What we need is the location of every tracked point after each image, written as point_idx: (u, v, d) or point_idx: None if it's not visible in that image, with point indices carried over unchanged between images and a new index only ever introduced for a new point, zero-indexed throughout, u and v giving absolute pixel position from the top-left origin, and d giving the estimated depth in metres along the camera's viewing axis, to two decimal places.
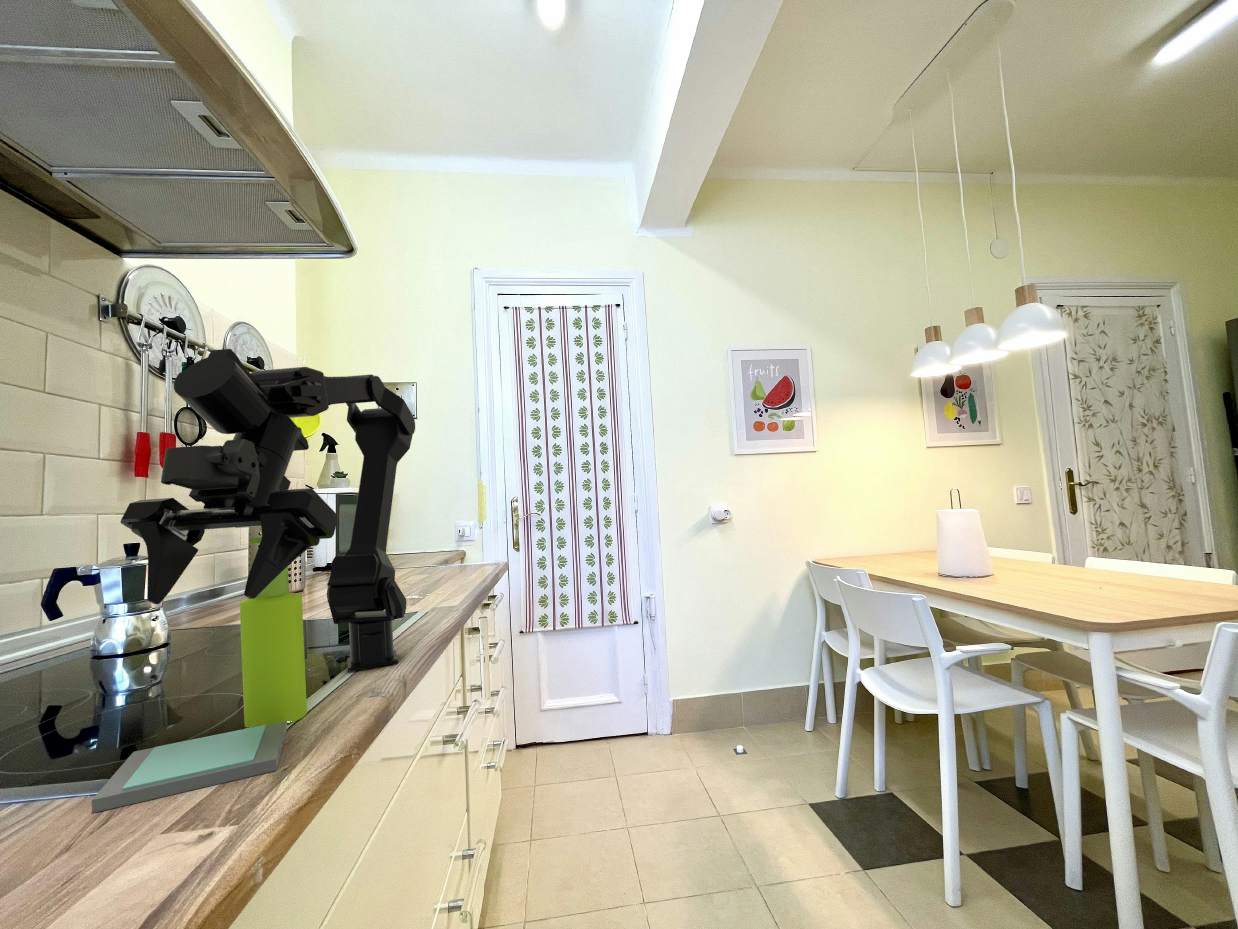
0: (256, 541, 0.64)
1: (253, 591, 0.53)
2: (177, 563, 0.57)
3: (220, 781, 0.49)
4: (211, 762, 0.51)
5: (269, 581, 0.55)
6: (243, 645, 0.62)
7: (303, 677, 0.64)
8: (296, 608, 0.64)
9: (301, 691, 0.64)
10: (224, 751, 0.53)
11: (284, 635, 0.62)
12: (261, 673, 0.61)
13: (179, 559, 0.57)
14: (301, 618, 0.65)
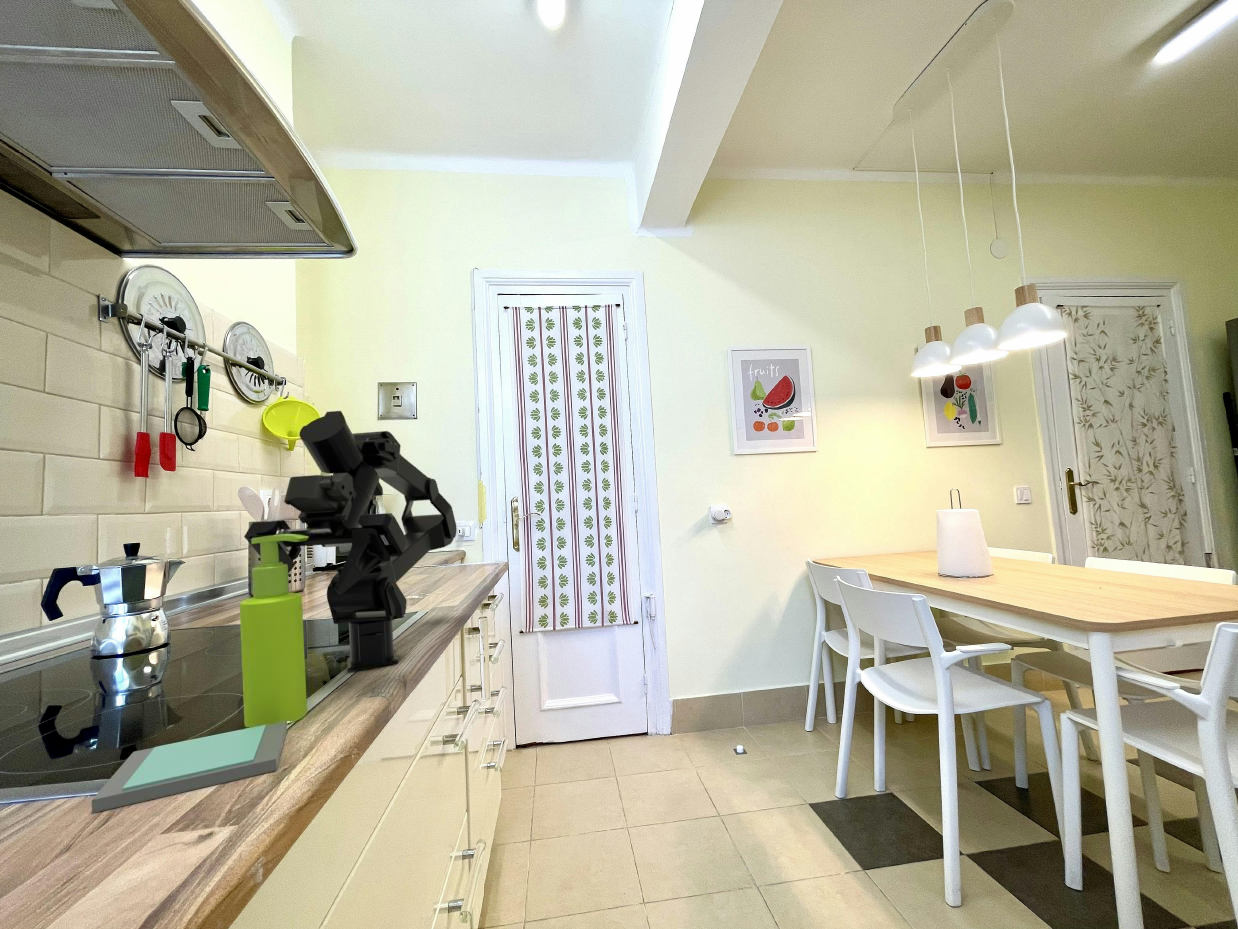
0: (256, 541, 0.64)
1: (342, 587, 0.68)
2: None
3: (220, 781, 0.49)
4: (211, 762, 0.51)
5: (353, 582, 0.70)
6: (243, 645, 0.62)
7: (303, 677, 0.64)
8: (296, 608, 0.64)
9: (301, 691, 0.64)
10: (224, 751, 0.53)
11: (284, 635, 0.62)
12: (261, 673, 0.61)
13: None
14: (301, 618, 0.65)
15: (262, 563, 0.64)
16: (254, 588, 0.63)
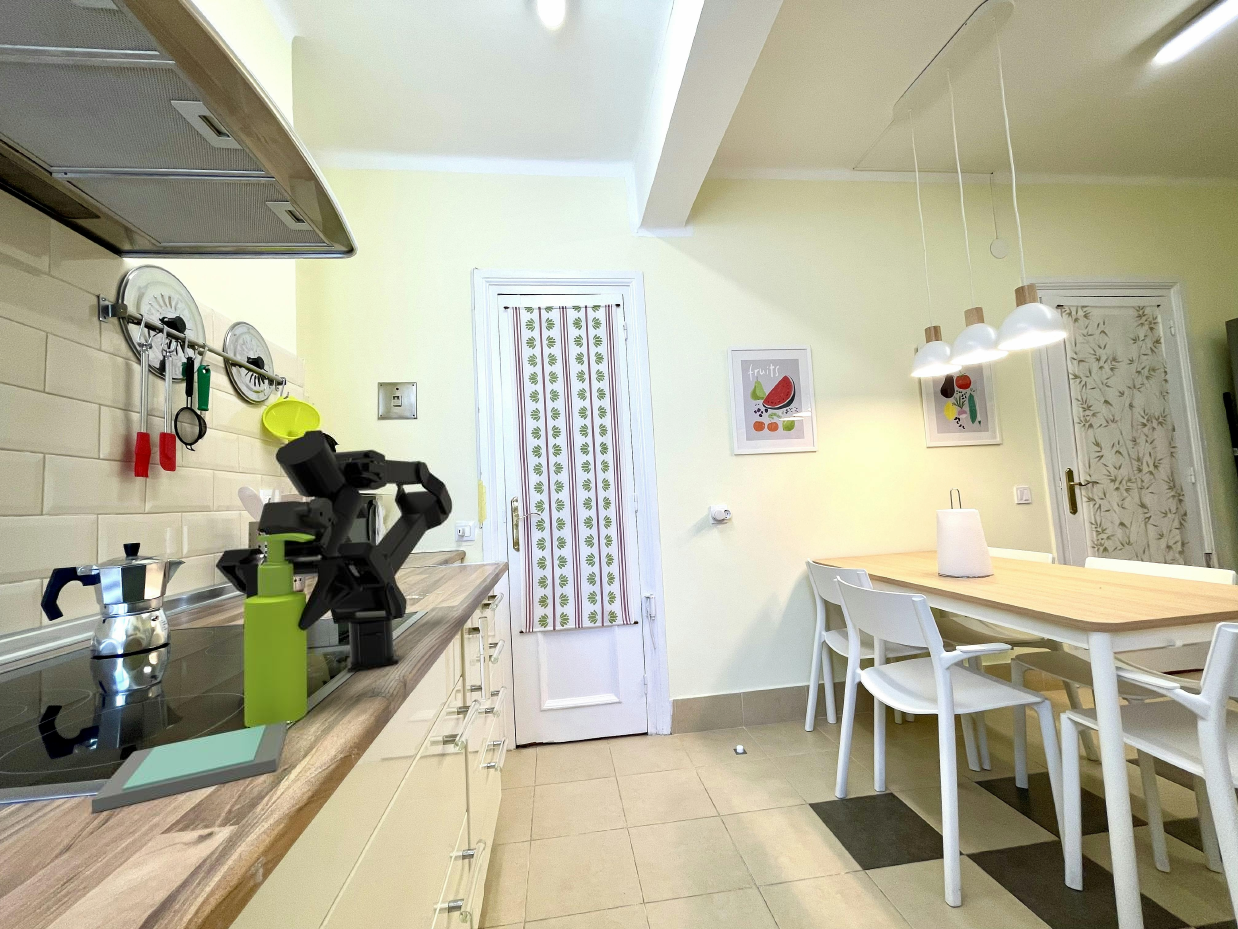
0: (263, 539, 0.63)
1: (305, 623, 0.64)
2: None
3: (220, 781, 0.49)
4: (211, 762, 0.51)
5: (318, 617, 0.65)
6: (246, 643, 0.62)
7: (304, 677, 0.64)
8: (300, 608, 0.64)
9: (302, 691, 0.64)
10: (224, 751, 0.53)
11: (287, 635, 0.62)
12: (263, 672, 0.61)
13: None
14: None
15: (268, 562, 0.63)
16: (259, 586, 0.63)
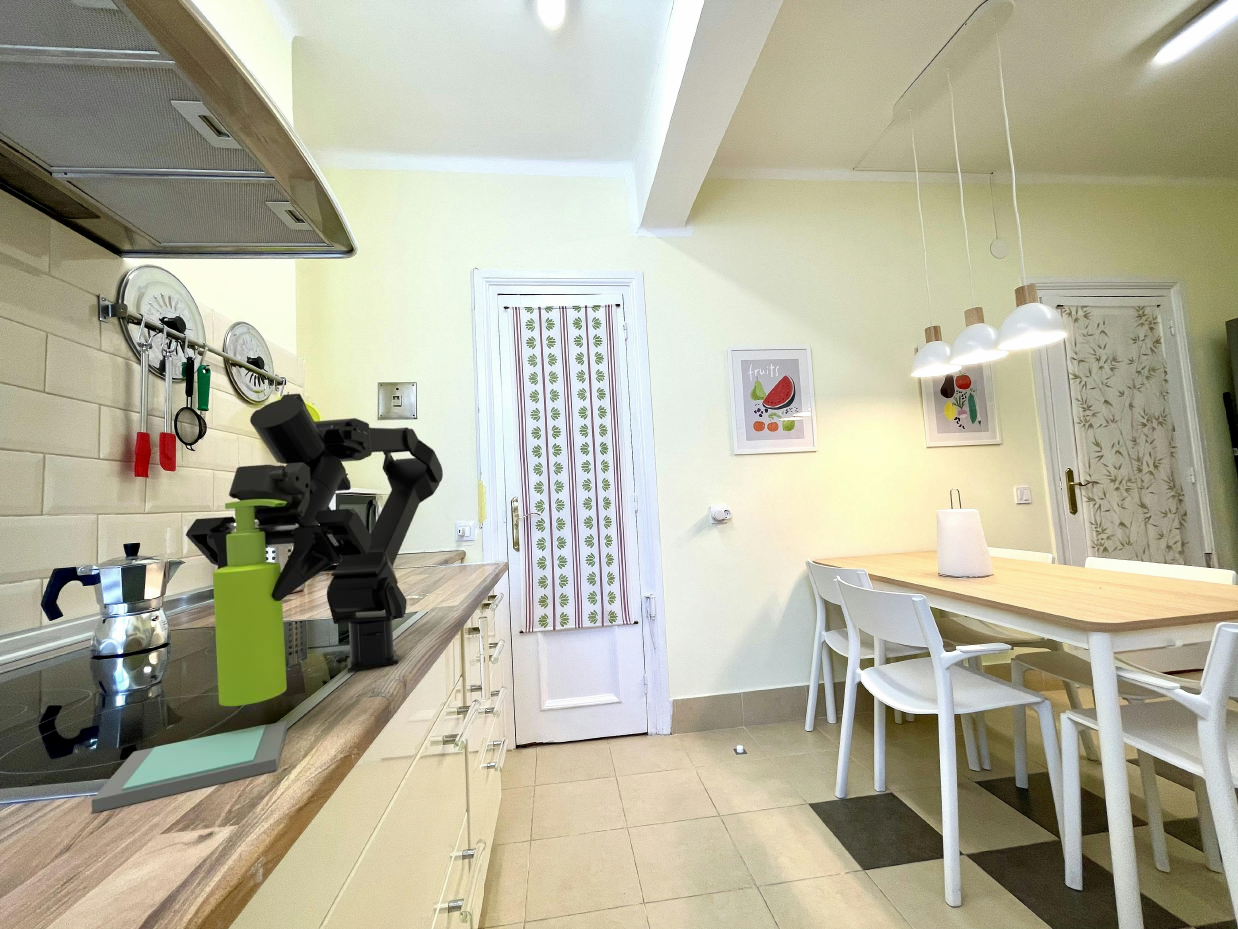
0: (230, 506, 0.59)
1: (279, 594, 0.60)
2: None
3: (220, 781, 0.49)
4: (211, 762, 0.51)
5: (294, 588, 0.61)
6: (216, 616, 0.58)
7: (282, 651, 0.60)
8: (273, 577, 0.60)
9: (279, 666, 0.60)
10: (224, 751, 0.53)
11: (261, 606, 0.58)
12: (236, 645, 0.57)
13: None
14: None
15: (237, 529, 0.60)
16: (228, 556, 0.59)
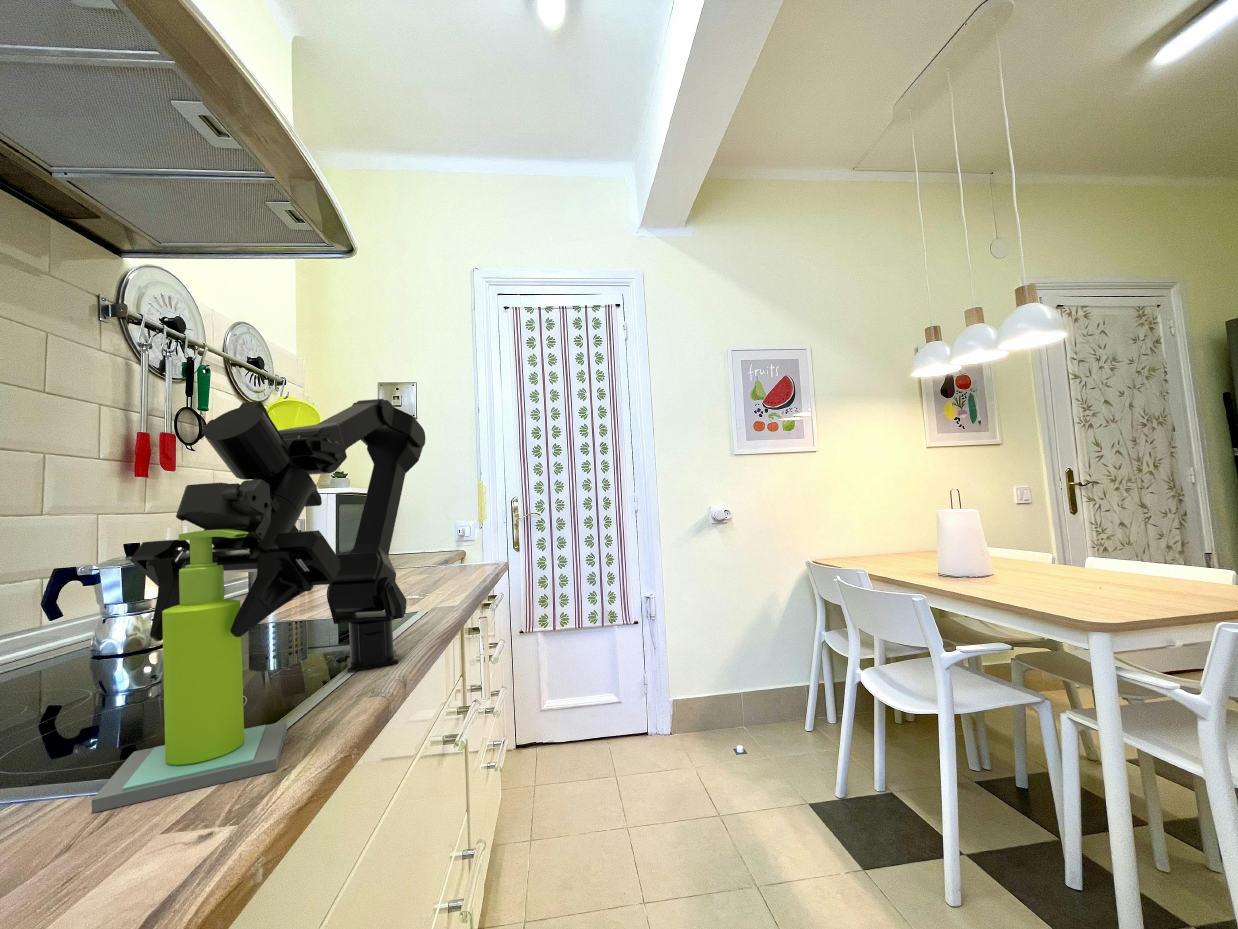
0: (184, 537, 0.53)
1: (240, 629, 0.53)
2: None
3: (220, 781, 0.49)
4: (211, 762, 0.51)
5: (257, 621, 0.55)
6: (164, 662, 0.51)
7: (239, 700, 0.54)
8: (230, 617, 0.53)
9: (235, 717, 0.53)
10: None
11: (214, 650, 0.52)
12: (184, 696, 0.51)
13: None
14: None
15: (191, 563, 0.53)
16: (180, 593, 0.53)
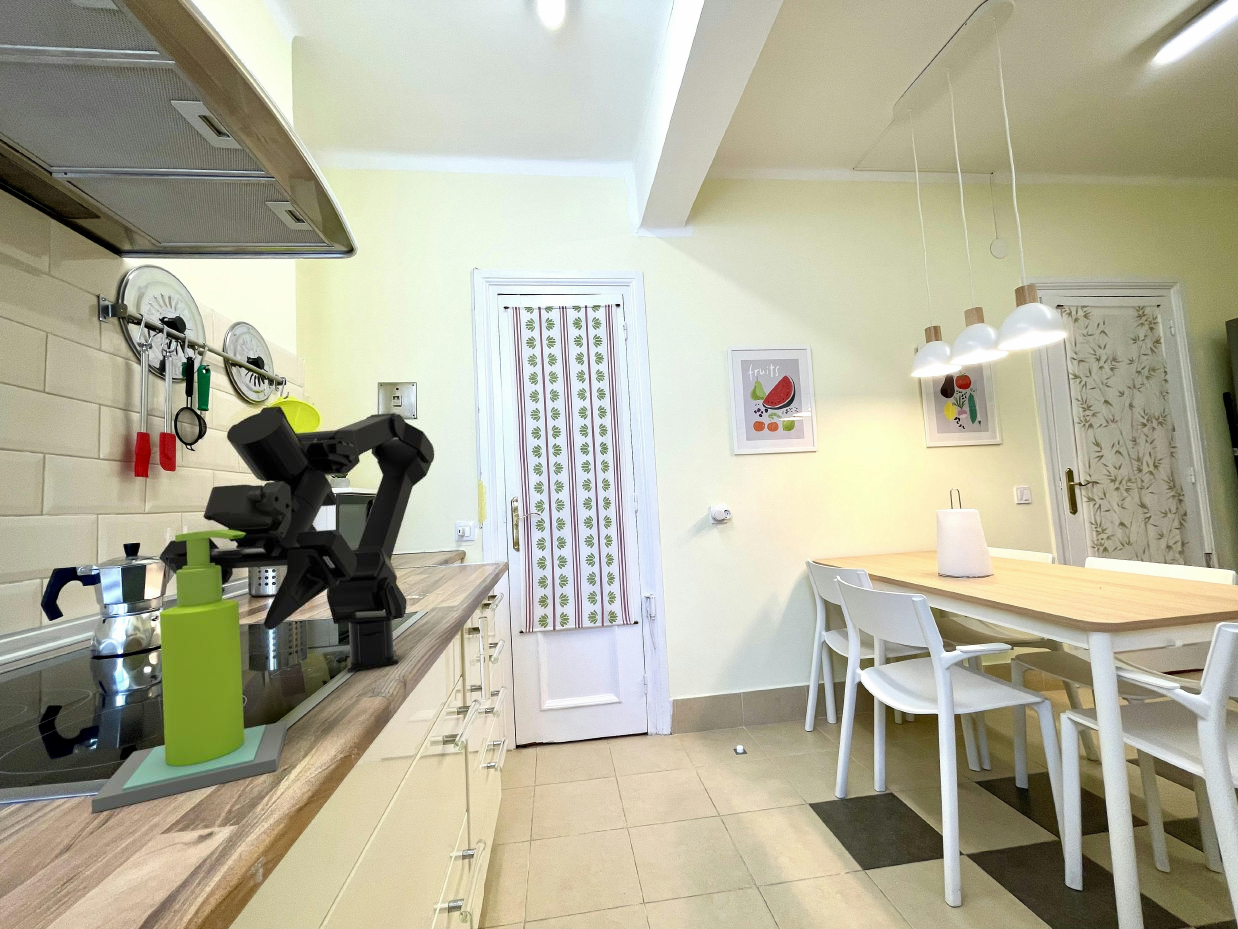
0: (181, 538, 0.53)
1: (272, 622, 0.56)
2: None
3: (220, 781, 0.49)
4: (211, 762, 0.51)
5: (288, 615, 0.58)
6: (163, 663, 0.51)
7: (238, 701, 0.54)
8: (229, 618, 0.53)
9: (235, 718, 0.53)
10: None
11: (213, 651, 0.52)
12: (183, 697, 0.51)
13: None
14: (236, 630, 0.54)
15: (188, 564, 0.53)
16: (178, 594, 0.52)
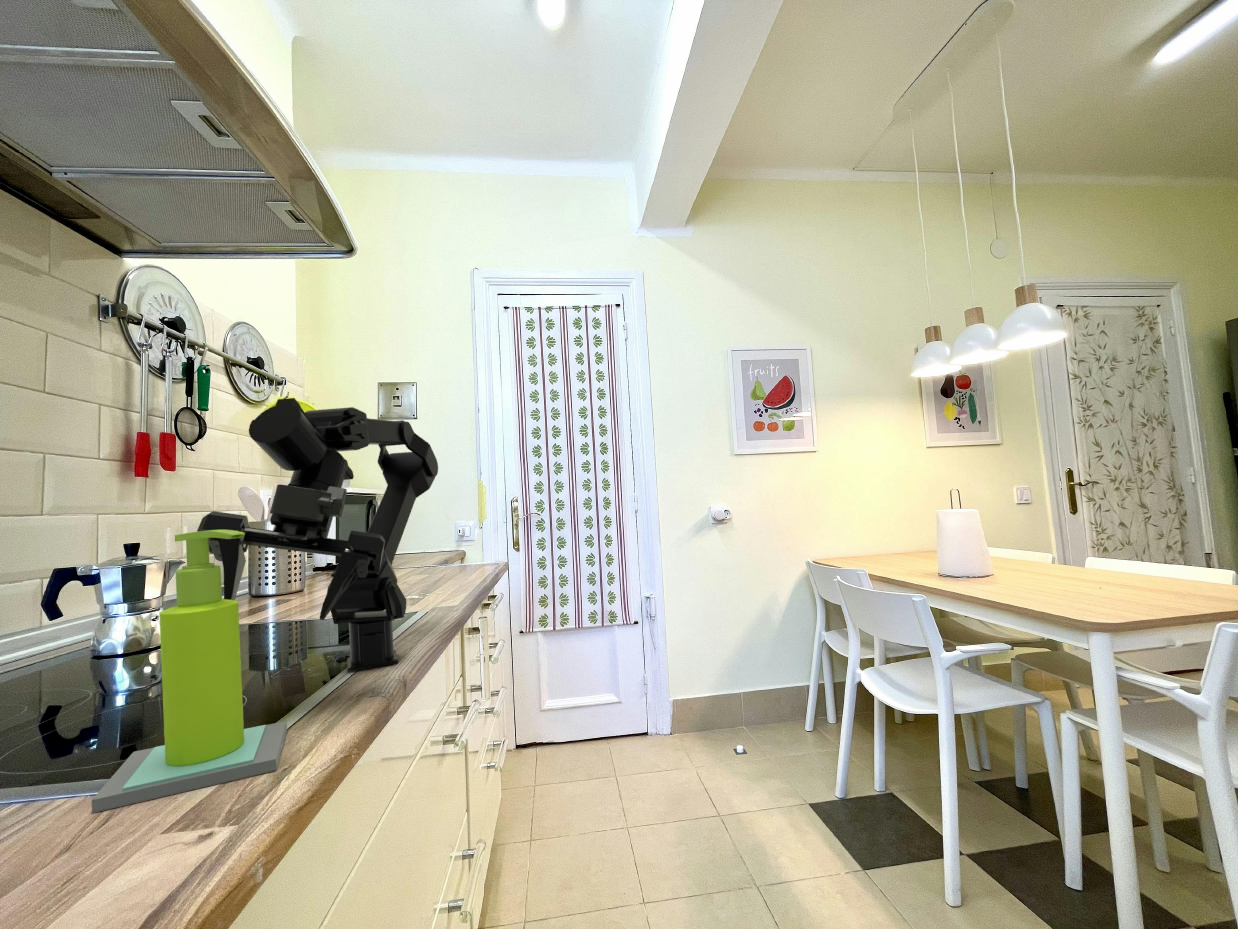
0: (180, 538, 0.53)
1: (325, 614, 0.65)
2: (239, 574, 0.65)
3: (220, 781, 0.49)
4: (211, 762, 0.51)
5: (333, 606, 0.67)
6: (162, 663, 0.51)
7: (238, 701, 0.54)
8: (228, 618, 0.53)
9: (234, 718, 0.53)
10: None
11: (213, 651, 0.52)
12: (183, 697, 0.51)
13: (240, 570, 0.65)
14: (236, 630, 0.54)
15: (188, 564, 0.53)
16: (177, 594, 0.52)
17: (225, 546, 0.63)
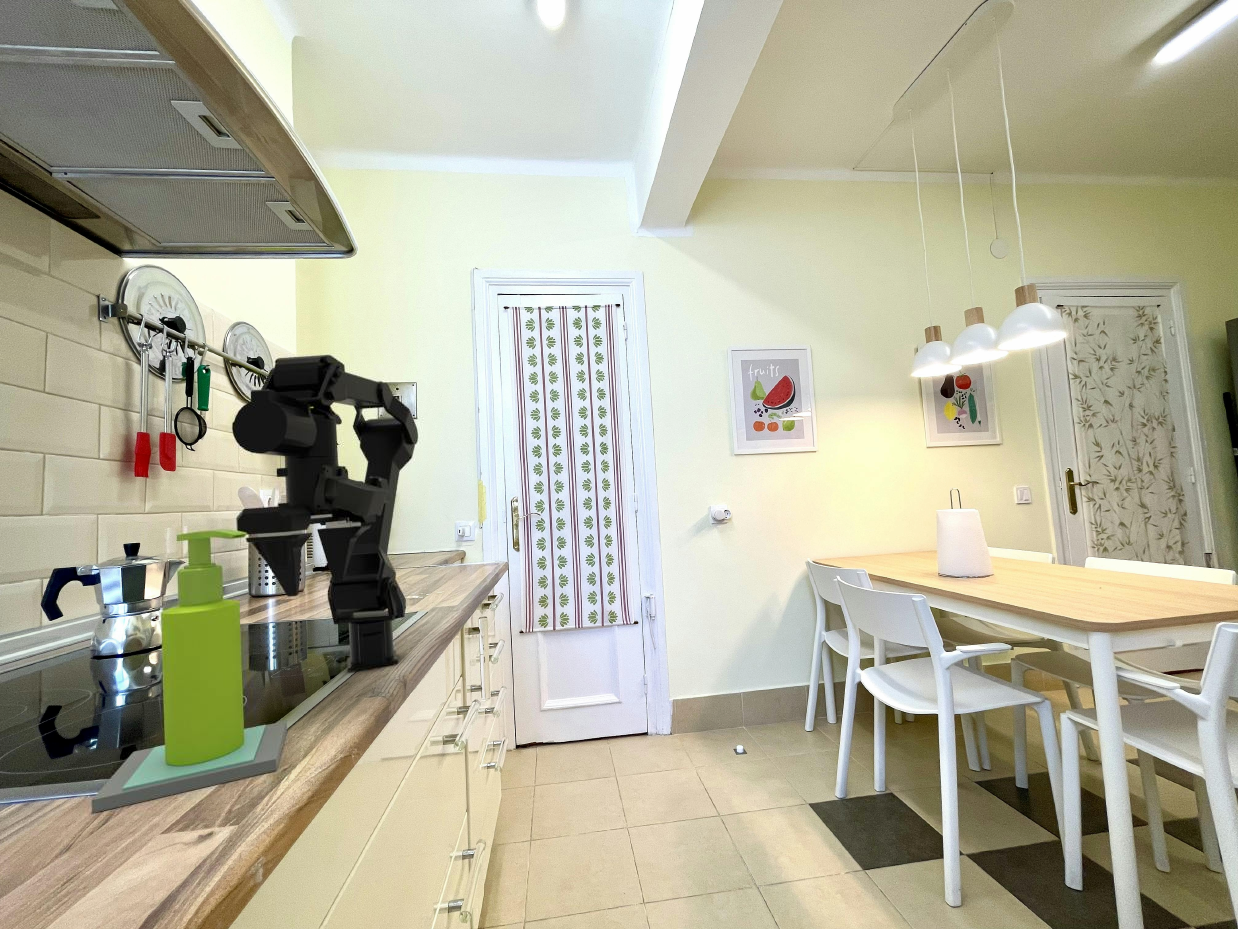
0: (182, 538, 0.53)
1: None
2: None
3: (220, 781, 0.49)
4: (211, 762, 0.51)
5: None
6: (163, 663, 0.51)
7: (239, 701, 0.54)
8: (229, 618, 0.53)
9: (235, 718, 0.53)
10: None
11: (213, 651, 0.52)
12: (184, 697, 0.51)
13: None
14: (237, 630, 0.54)
15: (190, 564, 0.53)
16: (179, 594, 0.53)
17: (300, 541, 0.64)
